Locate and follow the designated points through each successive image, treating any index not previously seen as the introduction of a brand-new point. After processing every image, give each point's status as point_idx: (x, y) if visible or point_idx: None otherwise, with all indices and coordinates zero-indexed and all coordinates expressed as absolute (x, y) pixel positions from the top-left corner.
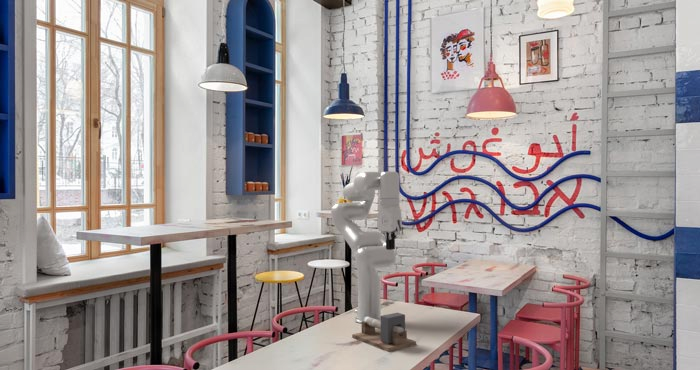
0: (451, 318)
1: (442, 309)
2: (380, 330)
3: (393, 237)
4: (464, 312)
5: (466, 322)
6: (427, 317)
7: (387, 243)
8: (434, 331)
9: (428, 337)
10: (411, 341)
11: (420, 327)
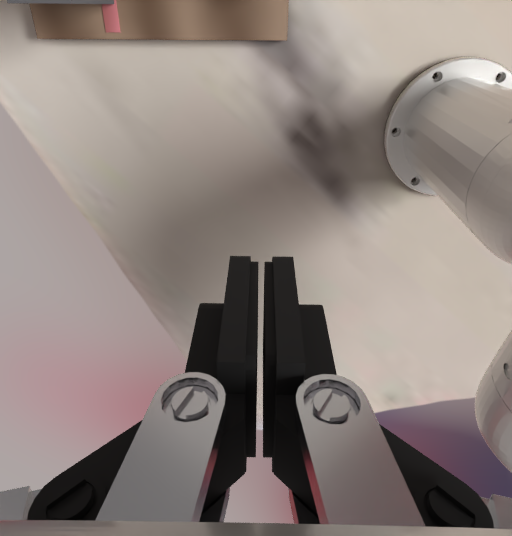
0: None
1: None
2: (259, 22)
3: (127, 449)
4: None
5: None
6: None
7: (265, 314)
8: (166, 224)
9: (114, 155)
10: (44, 19)
11: (236, 222)
